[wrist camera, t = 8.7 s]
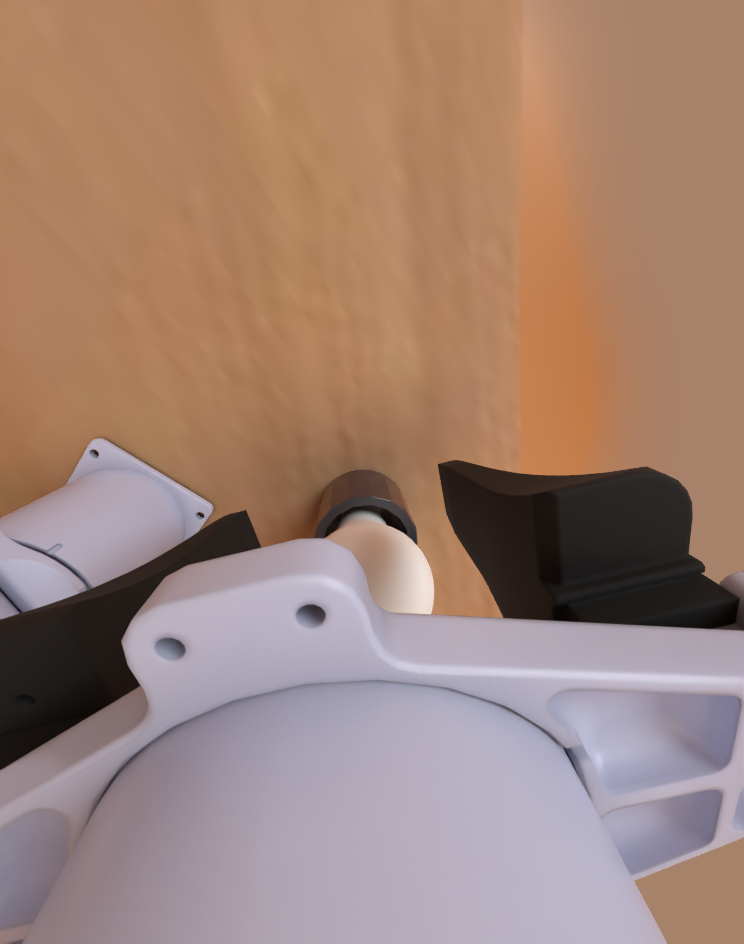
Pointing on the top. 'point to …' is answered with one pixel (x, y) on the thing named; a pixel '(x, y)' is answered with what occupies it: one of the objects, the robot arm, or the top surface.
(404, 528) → the cup
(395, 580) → the lightbulb
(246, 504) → the top surface
